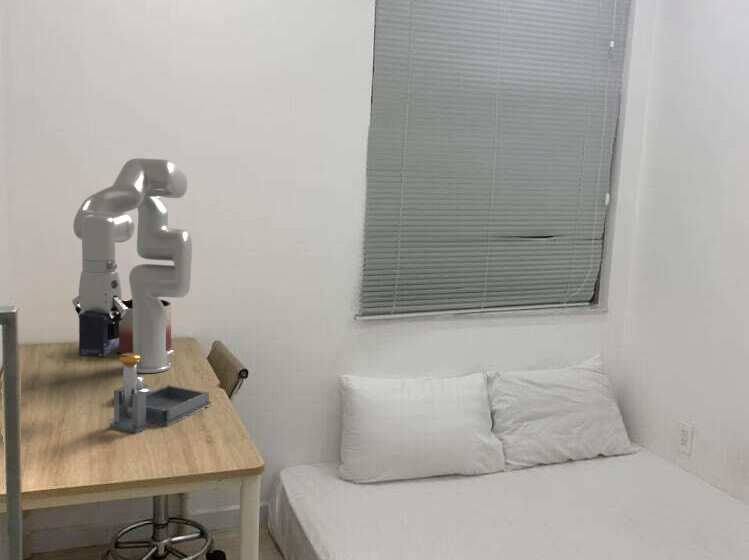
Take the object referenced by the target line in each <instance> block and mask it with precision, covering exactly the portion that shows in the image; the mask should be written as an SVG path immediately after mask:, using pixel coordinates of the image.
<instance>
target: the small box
mask: <svg viewBox="0 0 749 560" xmlns="http://www.w3.org/2000/svg"><path fill="white" fill-rule="evenodd" d="M118 312H119V311H118ZM112 317H113V318H114V315H113V314H112ZM108 324H110V322H109V320H108V316H107V314H102V313H97V312H91V311H86V312H83V313H81V314H79V317H78V334H79V336H78V337H79V338H78V356H79V357H89V358H101V359H102V358H105V357H106V356H108V355H109V354H111V353H112V352H114V351H116V350H115V349H117V348H119V338H117V339H113V340H108Z"/></svg>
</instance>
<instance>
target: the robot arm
mask: <svg viewBox="0 0 749 560" xmlns="http://www.w3.org/2000/svg"><path fill="white" fill-rule="evenodd" d="M187 189H188V178H187V175H186V172H185V171H184V170H183V169H182V167H181V168H180V167H179V166H178V165H177V164H176V163H174V162H173V161H170V160H167V159H162V158H161V159H159V158H157V159H156V158H139V157H138V158H132V159H130V160H128V161H126V162H125V164H124V165H123V167H122V168H121V170H120V172H119V173H118V175H117V177H116V179H115V181H114V182H113V184H112V186H109V187H106V188H104V189H102V190H99V191H98V192H96V193H93V194H91V195H90V196H89V197H87V198H86V199H85V200H83V202H82V204H81V205H80V207H79V209H78V210H77V212H76V214H75V217H74V220H73V223H72V224H73V232H74V234H75V237H77V239H79V240H81V253H82V254H81V257H82V259H81V261H82V262H81V263H82V265H81V266H82V270H81V272H80V278H79V284H78V285H79V286H78V295H77V296H76V297H75V298H73V299H72V302H71V303H72V304H73V306H74V308H75V309H74V310H75V312H76V313H77V315H78V316H77V317H78V318H79V314H81V313H83V312H86V311H91V312H97V313H102V314H107V316H108V320H109V322H110V324H108V340H113V339H117V338H119V322H121V320H122V319H123V318H124V315H125V314H126V312H127V310H128V308H127V307H126V306H125V305H124V304H123V303H122V300H123V298H122V287H121V280H120V277H119V276H120V275H119V273H118V272H116V269H117V268H118V265H117V263H116V243H125V242H127V241H129V240H130V239H131V238H132V236H133V235H134V233H135V222H134V219H133V218H132V217H131V216H130V215H129V214H127V212H130V211H133V210H136V209H137V213H138V214H137V215H138V216H137V233H136V235H137V236H136V252H137V255H138V256H139V257H140V258H141V259H145V260H150V261H167V262H169V261H171V262H173V265H168V264H156V263H155V264H154V263H150V264H149V263H144V264H143V263H142V264H138V265H136V266H133V267H132V268H131V270H130V273H129V274H128V276H129V278H128V281H129V287H130V292H131V299H132V303H133V353H137V354H140V355H141V360H140V361H139V362H137V374H138V373H140V374H143V373H144V374H155V373H161V372H166V371H168V370H170V369H171V367H172V363H171V362H170V361H169V360H168V358H169V357H170V358H171V357H172V356H175V350H174V349H169V350H168V351H166V311H165V307H164V305H163V304H162V302H161V301H160V300H161V299H160V298H176V299H177V298H179V299H181V298H184V297H186V296H187V295H188V293H189V292H190V289H191V288H190V286H191V278H192V277H191V275H192V256H193V252H192V251H193V242H192V238H191V235H190V233H189V232H188V231H187V230H184V229H179V228H168V219H169V211H168V209H167V207H166V205H165V204H164V202H163V201H162V200H161V199H160V198H168V199H180V198H182V197H183V196H184V195H185V194H186V192H187ZM118 311H119V312H118ZM112 314H113V315H114V318H113V317H112Z"/></svg>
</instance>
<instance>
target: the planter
mask: <svg viewBox="0 0 749 560" xmlns="http://www.w3.org/2000/svg"><path fill="white" fill-rule="evenodd" d="M160 301H161V302H162V304H163V305H164V307H165V311H166V351H169V350H171V347H172V313H171V312H172V311H171V309H172V303H171V302H170V301H168V300H166V299H160ZM122 303H123V304H124V305H125V306H126V307H127V308H128V310H127V312H126V314H125V315H124V318H123V319H122V320H121V322H119V348H117V349H115V350H114V351H116V352H118V353H119V354H120V355H121V354H124V353H133V303H132V298H129V299H122Z"/></svg>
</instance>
